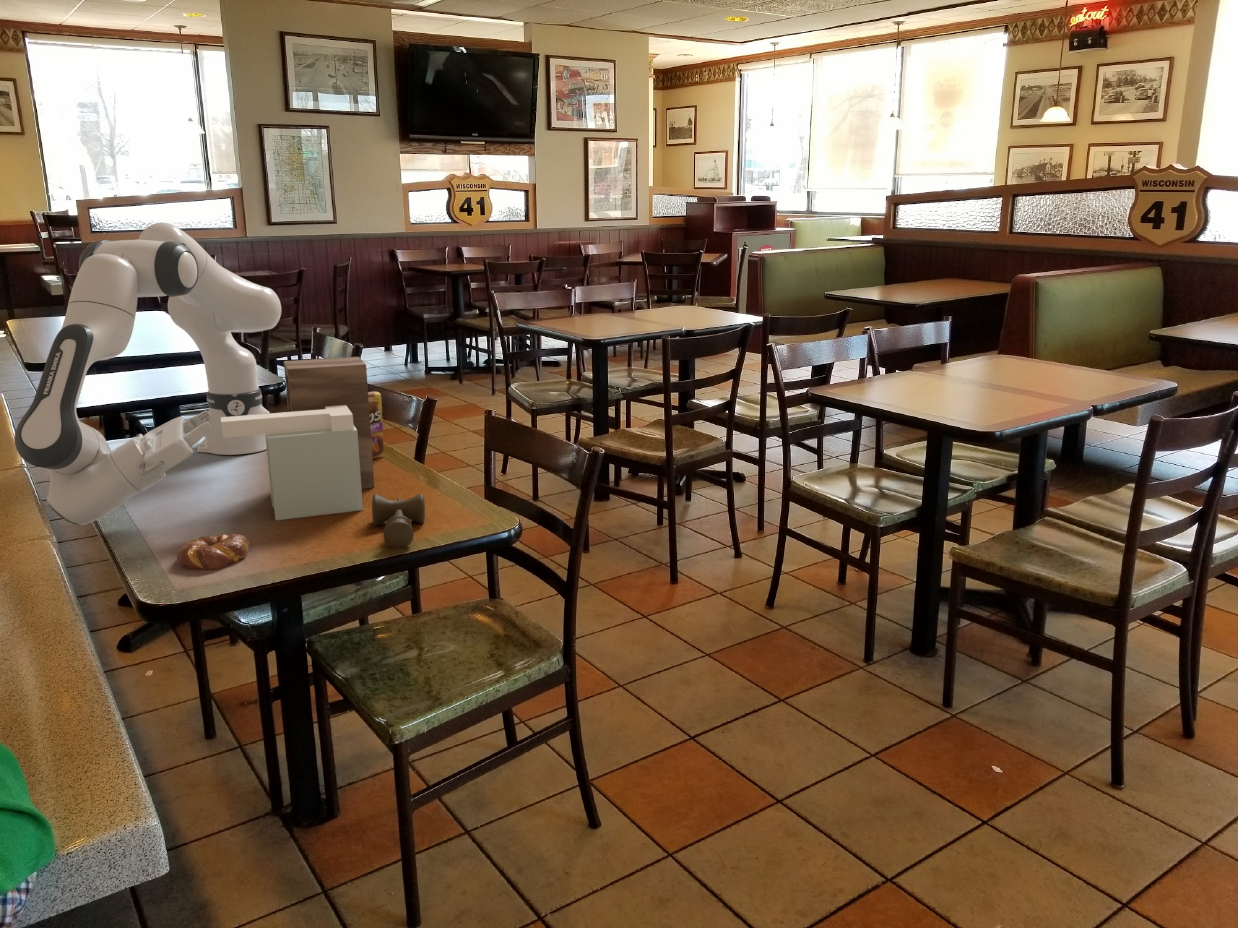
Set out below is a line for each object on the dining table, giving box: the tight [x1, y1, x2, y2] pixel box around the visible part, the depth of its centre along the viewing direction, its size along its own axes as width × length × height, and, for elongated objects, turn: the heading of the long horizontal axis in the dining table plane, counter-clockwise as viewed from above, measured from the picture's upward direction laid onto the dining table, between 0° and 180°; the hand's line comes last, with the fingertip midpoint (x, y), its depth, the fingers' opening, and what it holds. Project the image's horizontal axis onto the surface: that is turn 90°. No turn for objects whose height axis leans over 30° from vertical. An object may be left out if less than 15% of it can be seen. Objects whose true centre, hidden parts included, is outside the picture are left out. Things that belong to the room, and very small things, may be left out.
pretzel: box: [176, 533, 251, 571], centre depth 158 cm, size 12×11×4 cm
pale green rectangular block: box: [265, 426, 364, 521], centre depth 182 cm, size 10×16×16 cm, turn 113°
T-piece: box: [221, 405, 354, 438], centre depth 178 cm, size 9×23×3 cm, turn 113°
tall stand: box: [283, 356, 375, 490], centre depth 195 cm, size 10×15×26 cm, turn 113°
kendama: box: [371, 493, 426, 549], centre depth 172 cm, size 6×10×20 cm
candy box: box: [368, 390, 385, 459], centre depth 217 cm, size 9×4×15 cm, turn 123°
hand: (209, 419), depth 172 cm, fingers open, 8 cm apart
